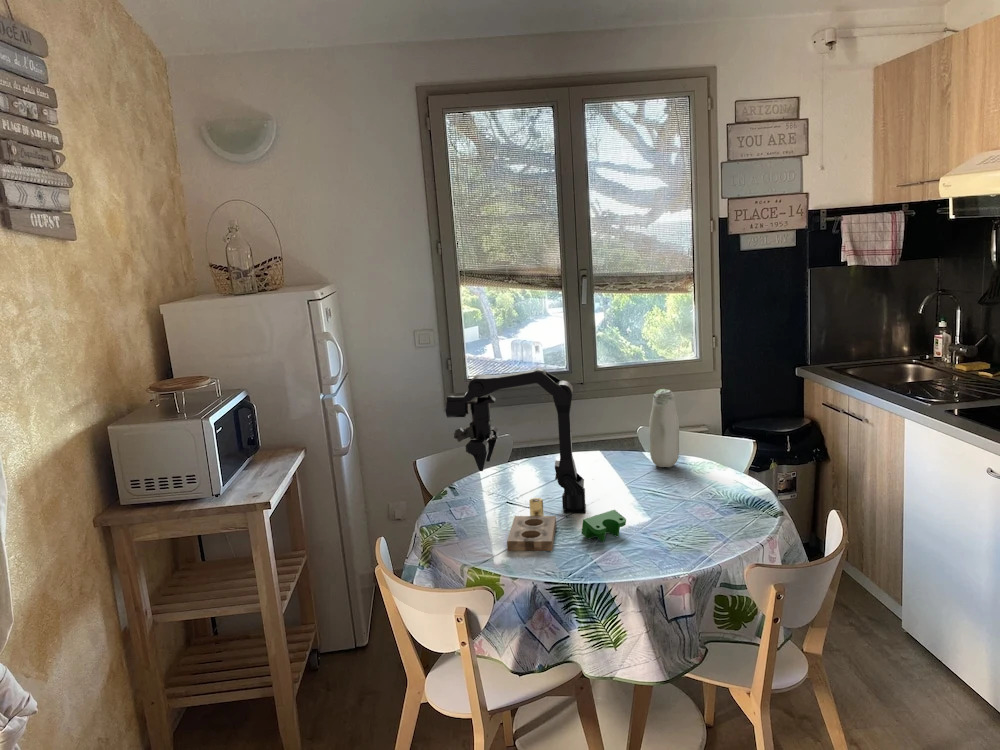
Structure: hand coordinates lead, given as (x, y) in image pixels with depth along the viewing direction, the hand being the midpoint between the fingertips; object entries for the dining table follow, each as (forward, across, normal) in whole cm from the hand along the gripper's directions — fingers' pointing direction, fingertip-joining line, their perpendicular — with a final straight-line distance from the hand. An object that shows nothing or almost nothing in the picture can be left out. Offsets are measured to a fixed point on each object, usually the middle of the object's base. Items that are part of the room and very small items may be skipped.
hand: (484, 466), depth 226 cm
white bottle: (+15, -45, +54) cm, 72 cm away
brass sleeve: (+14, +6, +17) cm, 23 cm away
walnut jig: (+14, +20, +18) cm, 30 cm away
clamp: (+15, +17, +37) cm, 44 cm away
